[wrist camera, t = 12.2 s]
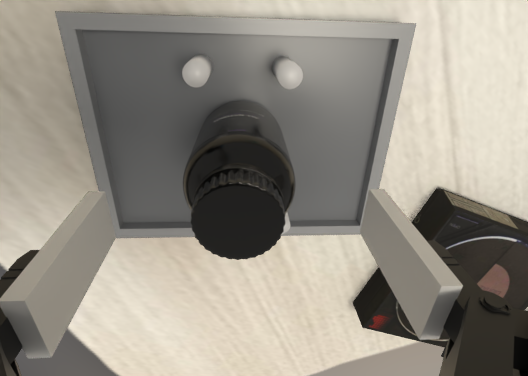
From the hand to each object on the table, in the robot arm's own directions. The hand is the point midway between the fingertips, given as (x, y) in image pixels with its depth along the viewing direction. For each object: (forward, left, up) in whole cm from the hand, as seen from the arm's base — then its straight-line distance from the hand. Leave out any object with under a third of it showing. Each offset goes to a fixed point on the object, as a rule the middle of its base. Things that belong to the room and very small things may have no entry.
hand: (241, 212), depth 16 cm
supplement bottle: (0, 0, -12) cm, 12 cm away
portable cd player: (+24, -16, -14) cm, 32 cm away
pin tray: (0, 0, -13) cm, 13 cm away
